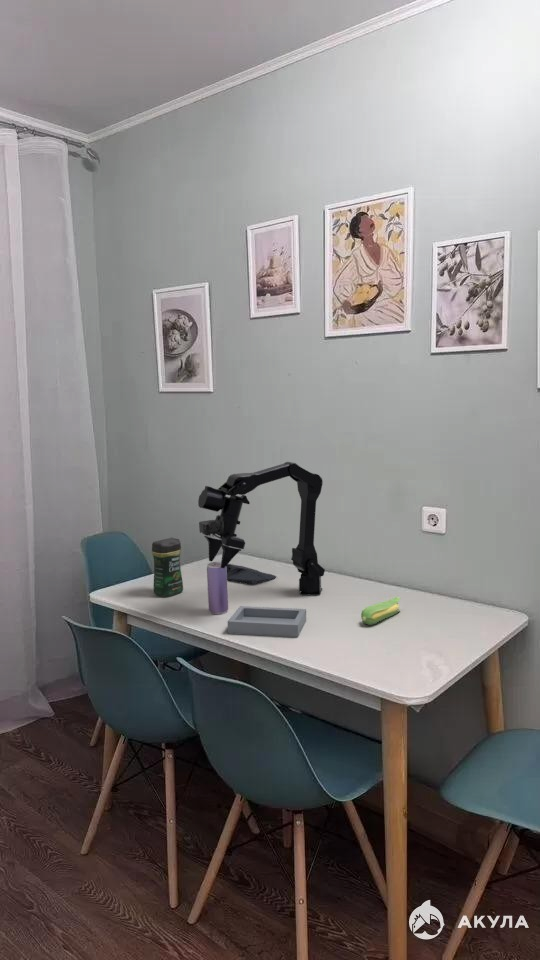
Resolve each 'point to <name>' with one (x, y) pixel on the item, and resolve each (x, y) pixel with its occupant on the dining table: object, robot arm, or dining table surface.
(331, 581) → the dining table surface
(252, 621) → the tray
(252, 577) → the dark slate chunk
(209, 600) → the beverage can
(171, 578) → the coffee jar
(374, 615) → the edible corn
